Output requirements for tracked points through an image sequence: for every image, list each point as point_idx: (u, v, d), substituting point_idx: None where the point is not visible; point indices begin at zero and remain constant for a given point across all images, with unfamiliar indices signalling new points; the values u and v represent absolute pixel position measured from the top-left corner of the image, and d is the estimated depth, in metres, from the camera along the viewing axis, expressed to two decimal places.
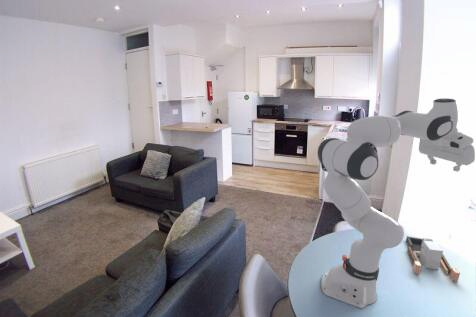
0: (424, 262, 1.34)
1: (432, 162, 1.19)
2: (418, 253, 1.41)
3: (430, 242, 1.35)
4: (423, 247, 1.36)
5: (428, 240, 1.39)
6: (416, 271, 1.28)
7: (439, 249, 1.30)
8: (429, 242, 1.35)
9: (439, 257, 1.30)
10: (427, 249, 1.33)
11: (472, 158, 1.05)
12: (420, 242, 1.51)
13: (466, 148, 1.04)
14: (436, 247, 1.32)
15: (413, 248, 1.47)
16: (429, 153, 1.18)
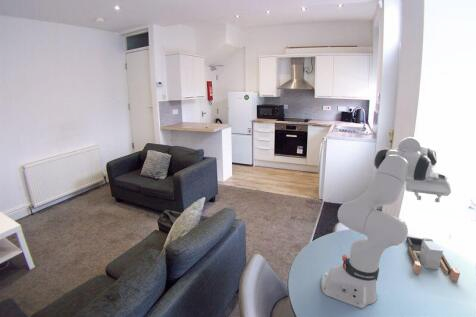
0: (424, 262, 1.34)
1: (420, 197, 1.46)
2: (418, 253, 1.41)
3: (430, 242, 1.35)
4: (423, 247, 1.36)
5: (428, 240, 1.39)
6: (416, 271, 1.28)
7: (439, 249, 1.30)
8: (429, 242, 1.35)
9: (439, 257, 1.30)
10: (427, 249, 1.33)
11: None
12: (420, 242, 1.51)
13: None
14: (436, 247, 1.32)
15: (413, 248, 1.47)
16: (417, 188, 1.48)
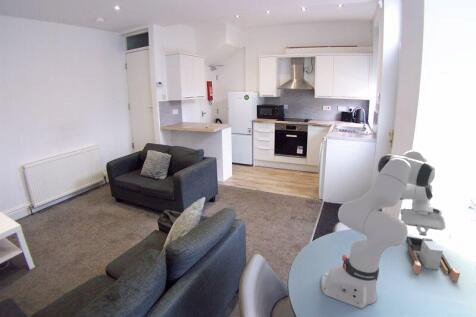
0: (424, 262, 1.34)
1: (422, 232, 1.47)
2: (418, 253, 1.41)
3: (430, 242, 1.35)
4: (423, 247, 1.36)
5: (428, 240, 1.39)
6: (416, 271, 1.28)
7: (439, 249, 1.30)
8: (429, 242, 1.35)
9: (439, 257, 1.30)
10: (427, 249, 1.33)
11: None
12: (420, 242, 1.51)
13: None
14: (436, 247, 1.32)
15: (413, 248, 1.47)
16: (412, 222, 1.49)
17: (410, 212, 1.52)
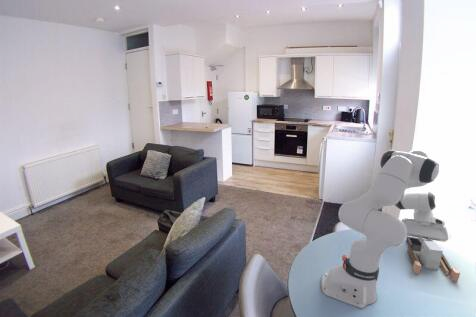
0: (424, 262, 1.34)
1: None
2: (418, 254, 1.40)
3: (430, 242, 1.35)
4: (423, 247, 1.36)
5: None
6: (416, 271, 1.28)
7: (439, 249, 1.30)
8: (429, 242, 1.35)
9: (439, 257, 1.30)
10: (426, 249, 1.33)
11: None
12: None
13: None
14: (436, 247, 1.32)
15: (413, 248, 1.47)
16: (414, 232, 1.44)
17: (412, 222, 1.47)
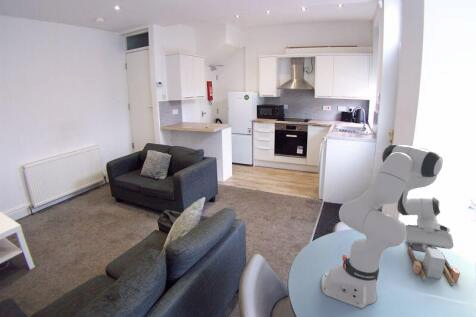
0: (426, 270, 1.29)
1: None
2: (422, 262, 1.34)
3: (434, 250, 1.29)
4: (426, 254, 1.31)
5: None
6: (416, 271, 1.28)
7: (442, 257, 1.24)
8: (433, 250, 1.30)
9: (441, 266, 1.24)
10: (429, 257, 1.27)
11: None
12: None
13: None
14: (439, 255, 1.26)
15: (413, 248, 1.47)
16: (418, 239, 1.38)
17: (415, 229, 1.41)
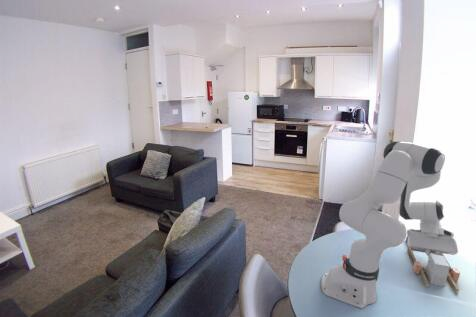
0: (429, 277, 1.25)
1: None
2: (425, 269, 1.30)
3: (437, 256, 1.25)
4: (429, 261, 1.26)
5: None
6: (416, 271, 1.28)
7: (446, 264, 1.20)
8: (436, 256, 1.25)
9: (445, 273, 1.20)
10: (432, 263, 1.23)
11: None
12: None
13: None
14: (443, 261, 1.21)
15: (413, 248, 1.47)
16: (421, 245, 1.34)
17: (418, 234, 1.36)
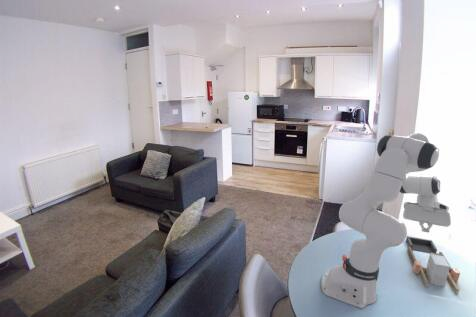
0: (429, 277, 1.24)
1: (425, 229, 1.38)
2: (425, 269, 1.30)
3: (437, 256, 1.25)
4: (429, 261, 1.26)
5: None
6: (416, 271, 1.28)
7: (446, 264, 1.20)
8: (436, 256, 1.25)
9: (445, 273, 1.20)
10: (432, 264, 1.23)
11: None
12: (420, 242, 1.51)
13: None
14: (443, 262, 1.21)
15: (413, 248, 1.47)
16: (416, 217, 1.40)
17: (414, 207, 1.41)
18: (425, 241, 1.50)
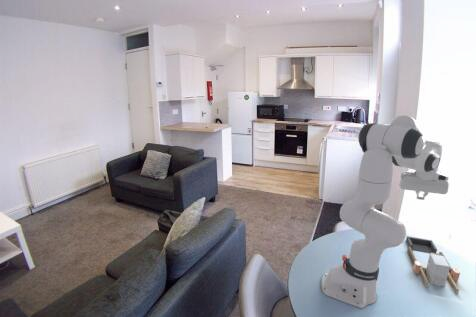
0: (429, 277, 1.24)
1: (420, 197, 1.38)
2: (425, 269, 1.30)
3: (437, 256, 1.25)
4: (429, 261, 1.26)
5: None
6: (416, 271, 1.28)
7: (446, 264, 1.20)
8: (436, 256, 1.25)
9: (445, 273, 1.20)
10: (432, 264, 1.23)
11: None
12: (420, 242, 1.51)
13: None
14: (443, 261, 1.21)
15: (413, 248, 1.47)
16: (412, 188, 1.37)
17: (411, 178, 1.36)
18: (425, 241, 1.50)
